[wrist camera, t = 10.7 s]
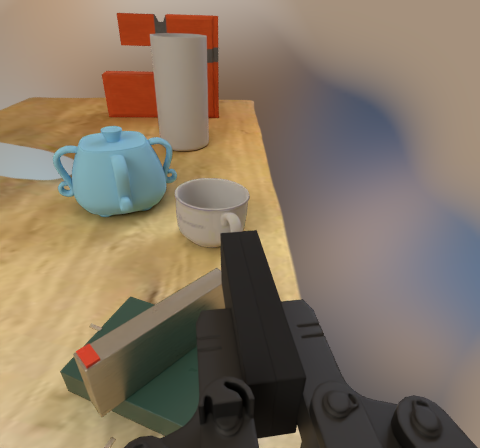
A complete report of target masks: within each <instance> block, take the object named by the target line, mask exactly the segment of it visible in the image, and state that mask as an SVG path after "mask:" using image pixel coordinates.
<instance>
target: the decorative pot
mask: <svg viewBox="0 0 480 448" xmlns="http://www.w3.org/2000/svg"><path fill="white" fill-rule="evenodd" d="M154 144H161V145H164V146H165V147H166V158H165V162H164V165H163V168H162V165H161V162H160V160H159V158H158V156H157V154H156V153H155V151H154V149H153V148H152V146H151V145H154ZM66 153H76V154H75V158H74V163H73V169H72V178H71V177H70V176H69V175H68V173H67V172H66V171H65V169H64V168H63V166H62V164H61V161H60V157H61V156H62V155H63V154H66ZM171 159H172V147H171V145H170V144H169V142H168V141H166V140H164V139H162V138H158V137H155V138H151V139H148V140H147V139H146V138H145V136H144V135H143V134H141V133H140V132H135V131H122V128H121V127H118V126H108V127H104V128H102V129H101V133H97V134H91V135H87V136H85V137H83V138H82V139H81V140H80V141H79V144H78V147H76V146H64V147H62V148H60V149H59V150H57V151H56V152H55V154H54V156H53V163H54V166H55V168H56V170H57V171H58V173H59V174H60V176H61V177H62V178H63V179H64V181H63V182H61V183H60V184H59V186H58V190H59V193H60V194H61V195H63V196H66V197H72V196H75V198H76V200H77V202H78V203H79V204H80V205H81V206H82V207H83V208H84V209H85V210H87V211H88V212H90V213H93V214H98V215H100V216H101V217H109V216H112V215H114V214H125V213H131V212H135V211H139V210H141V211H146V210H149V209H151V208H152V206H154V205H156V204H157V203H159V201H160V200H161V199H162V197H163V195H164V193H165V191H166V183H172V182H174V181H175V180H176V178H177V174H176V171H175V170H173V169H169V166H170V163H171ZM168 173H172V176H171V177H167V174H168ZM64 186H69V188H70V190H66V189H64V188H63V187H64Z"/></svg>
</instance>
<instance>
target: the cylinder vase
mask: <svg viewBox="0 0 480 448" xmlns="http://www.w3.org/2000/svg"><path fill="white" fill-rule="evenodd" d="M150 43H151V52H152V63H153V73H154V82H155V92H156V102H157V112H158V122H159V132H160V138H162V139H164V140H166V141H168V142H169V144H170V145H171V147H172V150H175V151H193V150H198V149H201V148H203V147H205V146H206V145H207V144H208V142H209V128H208V80H207V36H206V35H199V34H182V33H158V34H150ZM163 146H164V145H163ZM164 147H165V146H164ZM165 148H166V147H165Z"/></svg>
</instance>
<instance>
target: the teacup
mask: <svg viewBox="0 0 480 448" xmlns="http://www.w3.org/2000/svg"><path fill="white" fill-rule="evenodd" d="M175 198H176V213H177V222H178V227H179V229H180V231H181V233H182V234H183V235H184V236H185V237H186V238H187V239H189V240H190V241H192V242H194V243H195V244H197V245H200V246H203V247H220V246H221V241H220V233H228V232H242V231H243V229H244V226H245V221H246V215H247V206H248V200H249V192H248V190H247V189H246V188H245V187H243V186H242V185H240V184H238V183H236V182H233V181H229V180H225V179H217V178H200V179H195V180H190V181H187V182H185V183H183V184H181V185H180V186H178V187H177V189H176V190H175Z"/></svg>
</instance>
